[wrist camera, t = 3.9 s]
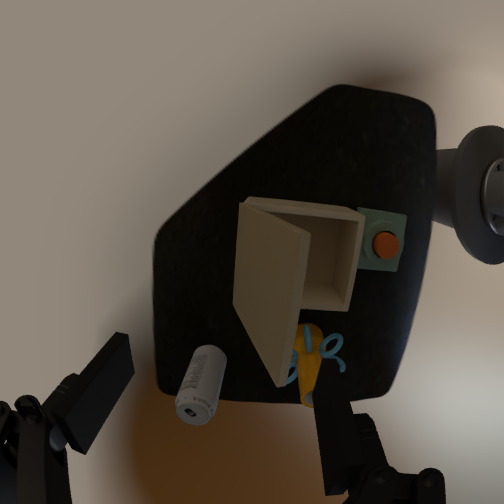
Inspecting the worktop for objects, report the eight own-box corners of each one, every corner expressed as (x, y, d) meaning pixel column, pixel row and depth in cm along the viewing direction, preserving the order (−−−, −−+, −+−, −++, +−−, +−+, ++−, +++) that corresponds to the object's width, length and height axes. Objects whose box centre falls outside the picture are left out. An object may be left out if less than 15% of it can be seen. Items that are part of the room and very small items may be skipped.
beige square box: (346, 207, 40) (365, 215, 32) (334, 286, 43) (347, 311, 35) (248, 196, 41) (243, 202, 32) (242, 278, 44) (236, 302, 35)
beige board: (311, 233, 18) (300, 232, 17) (285, 386, 21) (276, 387, 21) (246, 202, 32) (239, 202, 32) (238, 304, 35) (232, 304, 35)
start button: (396, 233, 37) (401, 235, 36) (391, 256, 38) (396, 260, 37) (375, 230, 38) (379, 232, 36) (370, 254, 39) (374, 258, 37)
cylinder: (315, 294, 44) (333, 347, 30) (349, 334, 46) (374, 391, 31) (257, 337, 47) (252, 398, 32) (295, 372, 48) (301, 433, 34)
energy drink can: (210, 372, 49) (193, 431, 35) (188, 352, 48) (163, 408, 34) (234, 359, 48) (222, 420, 34) (211, 336, 47) (191, 395, 33)
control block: (402, 214, 40) (412, 217, 36) (392, 268, 42) (401, 275, 39) (357, 207, 40) (364, 210, 37) (348, 264, 42) (354, 271, 39)
